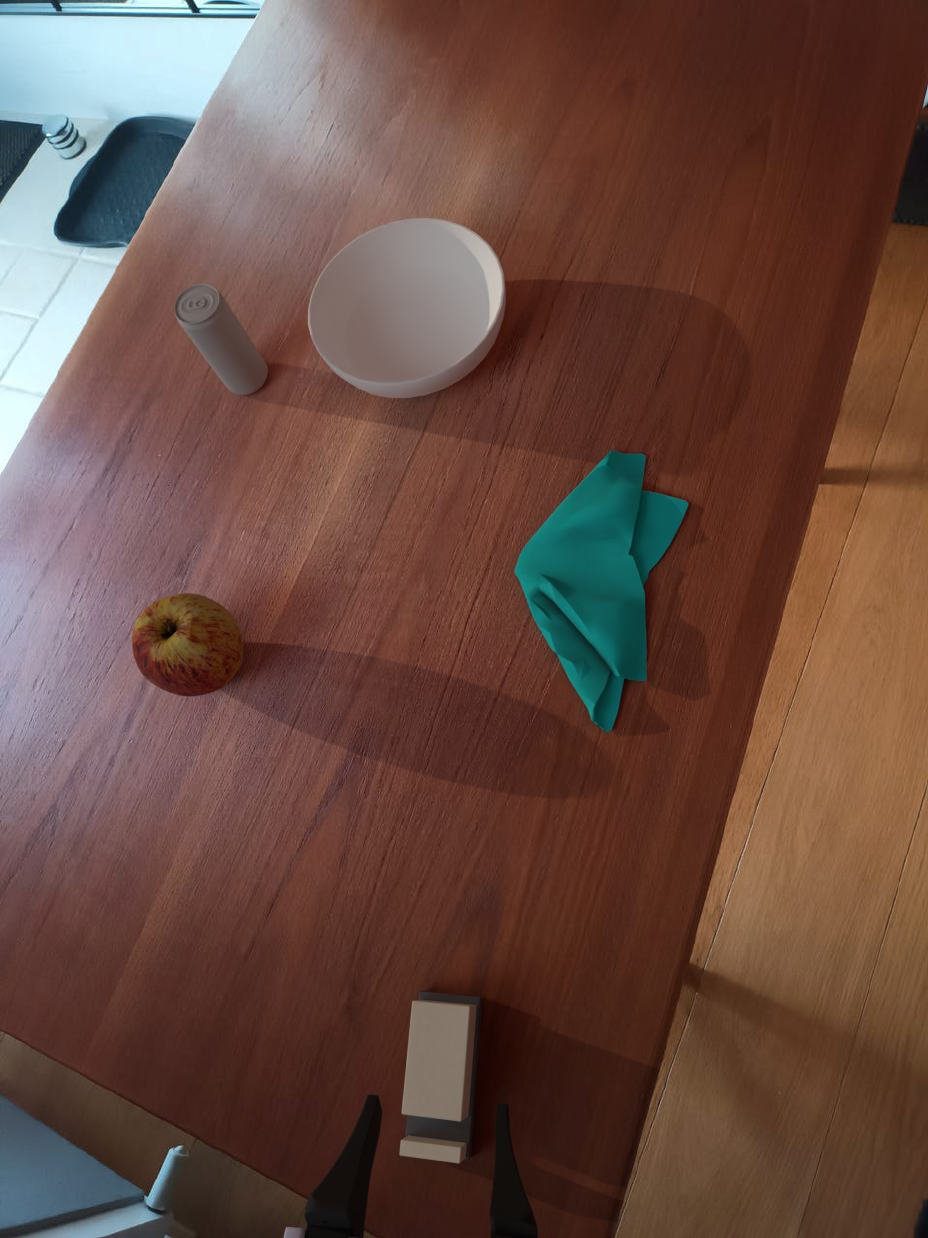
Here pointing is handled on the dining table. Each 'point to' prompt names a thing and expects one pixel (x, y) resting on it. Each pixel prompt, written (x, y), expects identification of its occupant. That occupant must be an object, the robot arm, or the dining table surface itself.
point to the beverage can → (220, 338)
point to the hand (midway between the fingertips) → (438, 1107)
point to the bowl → (408, 307)
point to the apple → (187, 644)
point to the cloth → (599, 578)
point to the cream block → (441, 1076)
